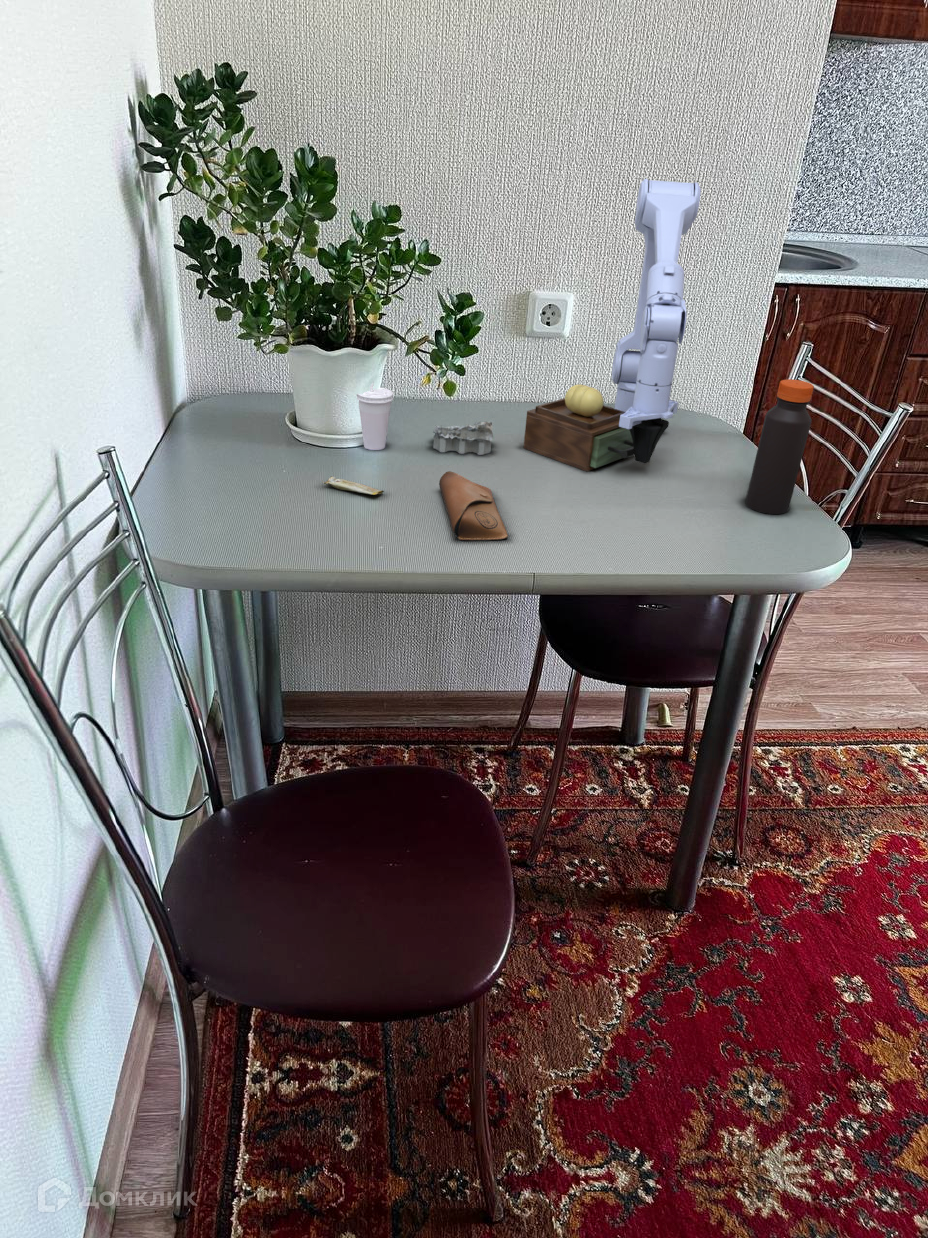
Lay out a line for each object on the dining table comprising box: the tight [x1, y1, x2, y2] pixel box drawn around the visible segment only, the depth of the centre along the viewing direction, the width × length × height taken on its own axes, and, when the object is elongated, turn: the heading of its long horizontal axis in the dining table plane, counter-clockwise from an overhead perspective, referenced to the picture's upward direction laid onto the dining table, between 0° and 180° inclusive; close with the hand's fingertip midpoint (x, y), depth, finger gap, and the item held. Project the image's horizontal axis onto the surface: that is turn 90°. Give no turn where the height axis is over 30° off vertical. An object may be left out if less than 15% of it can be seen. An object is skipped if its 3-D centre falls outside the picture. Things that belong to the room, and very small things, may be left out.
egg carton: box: [432, 421, 494, 456], centre depth 160 cm, size 11×8×4 cm
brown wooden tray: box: [534, 397, 625, 430], centre depth 158 cm, size 11×12×1 cm
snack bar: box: [322, 476, 385, 496], centre depth 140 cm, size 10×2×3 cm
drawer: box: [590, 427, 635, 469], centre depth 158 cm, size 18×11×5 cm, turn 46°
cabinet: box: [523, 404, 623, 472], centre depth 160 cm, size 14×12×7 cm
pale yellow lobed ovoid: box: [564, 383, 605, 417], centre depth 158 cm, size 5×7×5 cm
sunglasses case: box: [438, 470, 509, 542], centre depth 135 cm, size 18×7×7 cm, turn 9°
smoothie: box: [356, 382, 394, 451], centre depth 155 cm, size 6×6×14 cm
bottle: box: [745, 378, 815, 515], centre depth 140 cm, size 7×7×20 cm
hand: (641, 461), depth 153 cm, fingers closed, pressing on drawer
